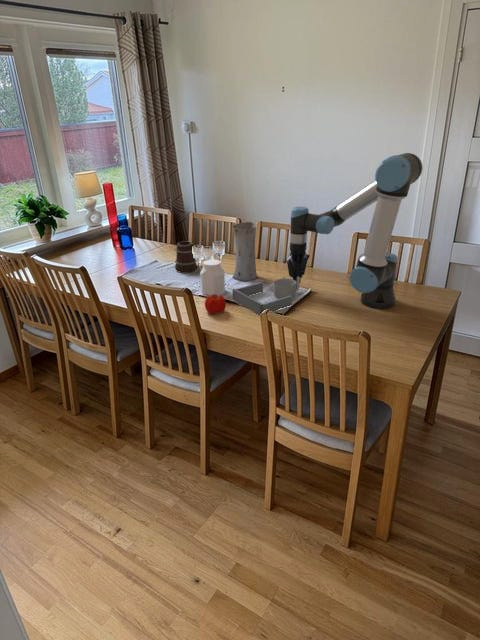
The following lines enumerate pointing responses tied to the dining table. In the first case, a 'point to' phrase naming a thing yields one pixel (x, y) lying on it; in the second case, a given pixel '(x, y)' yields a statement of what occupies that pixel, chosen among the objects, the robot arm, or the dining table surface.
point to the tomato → (215, 304)
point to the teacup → (284, 287)
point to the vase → (245, 251)
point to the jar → (212, 278)
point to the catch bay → (243, 298)
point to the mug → (185, 257)
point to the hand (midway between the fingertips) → (296, 289)
